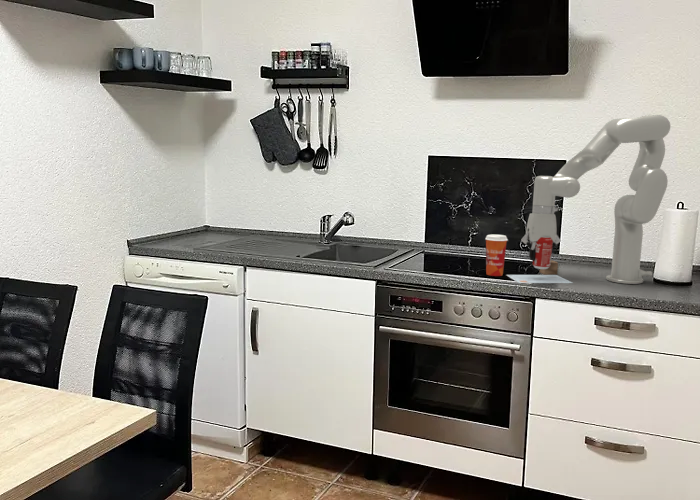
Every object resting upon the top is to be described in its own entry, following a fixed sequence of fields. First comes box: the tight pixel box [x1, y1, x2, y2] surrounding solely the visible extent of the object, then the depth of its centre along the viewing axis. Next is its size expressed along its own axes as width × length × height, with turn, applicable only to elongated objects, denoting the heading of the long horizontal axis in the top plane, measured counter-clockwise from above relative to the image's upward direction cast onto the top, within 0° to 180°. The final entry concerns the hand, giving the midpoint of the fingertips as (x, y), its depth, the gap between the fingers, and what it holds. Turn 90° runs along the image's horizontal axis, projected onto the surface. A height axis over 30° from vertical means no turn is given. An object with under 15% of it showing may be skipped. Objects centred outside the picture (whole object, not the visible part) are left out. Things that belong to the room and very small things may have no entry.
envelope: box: [505, 274, 573, 284], centre depth 254 cm, size 20×15×1 cm
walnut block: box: [539, 259, 559, 275], centre depth 266 cm, size 5×5×5 cm
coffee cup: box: [484, 233, 509, 277], centre depth 260 cm, size 8×8×15 cm
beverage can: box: [532, 236, 554, 270], centre depth 253 cm, size 6×6×12 cm
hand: (539, 259), depth 253 cm, fingers closed on beverage can, 4 cm apart
